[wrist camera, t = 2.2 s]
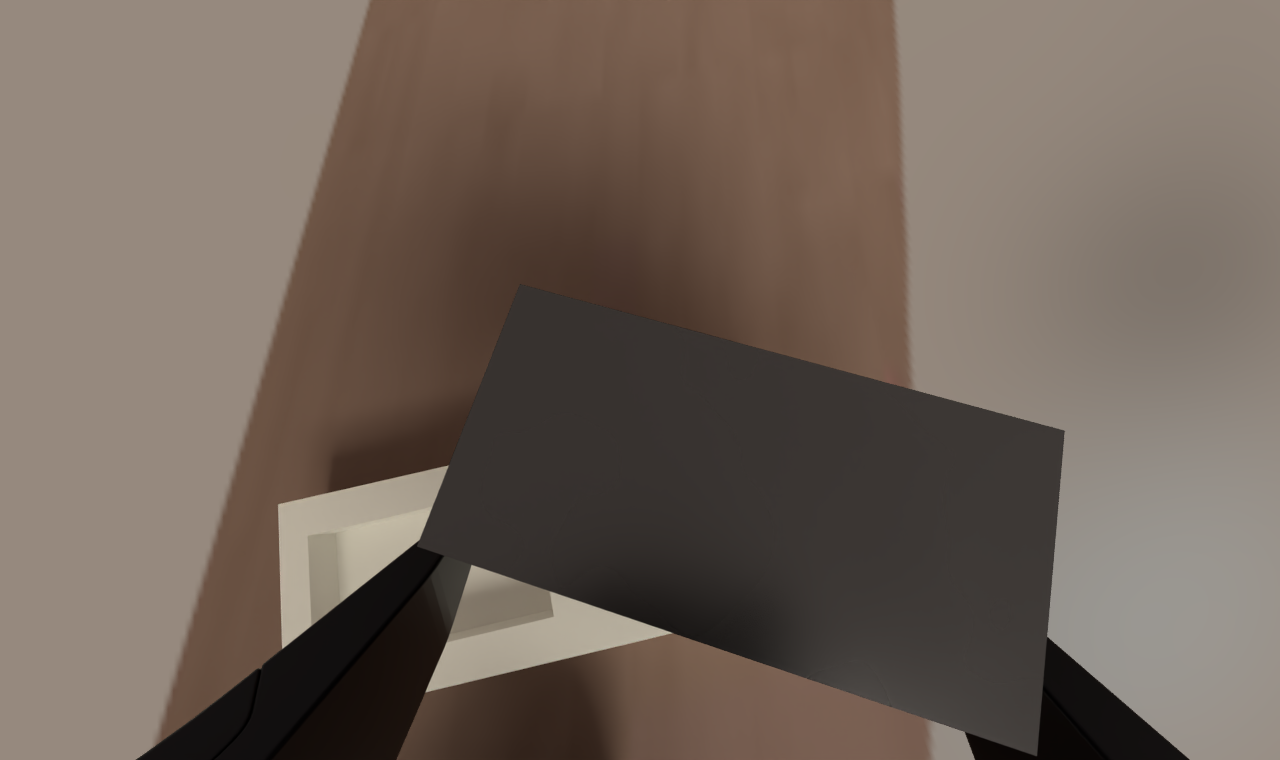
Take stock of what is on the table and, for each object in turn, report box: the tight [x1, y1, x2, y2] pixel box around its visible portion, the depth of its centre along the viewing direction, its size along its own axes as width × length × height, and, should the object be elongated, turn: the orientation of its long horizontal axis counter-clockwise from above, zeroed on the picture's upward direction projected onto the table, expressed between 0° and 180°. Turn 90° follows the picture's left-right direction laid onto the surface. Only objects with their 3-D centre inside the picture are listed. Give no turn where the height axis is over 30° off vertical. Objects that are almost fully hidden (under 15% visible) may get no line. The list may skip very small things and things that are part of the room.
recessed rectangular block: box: [278, 466, 671, 692], centre depth 17 cm, size 7×18×2 cm, turn 103°
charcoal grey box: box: [417, 284, 1065, 756], centre depth 11 cm, size 3×6×12 cm, turn 73°
